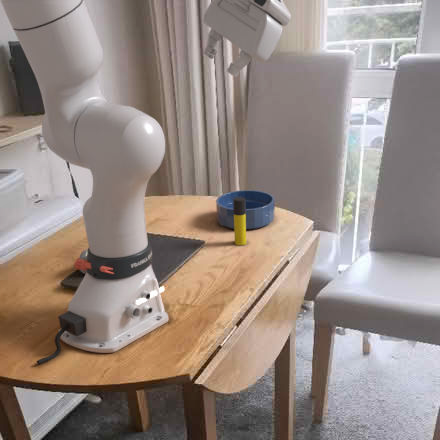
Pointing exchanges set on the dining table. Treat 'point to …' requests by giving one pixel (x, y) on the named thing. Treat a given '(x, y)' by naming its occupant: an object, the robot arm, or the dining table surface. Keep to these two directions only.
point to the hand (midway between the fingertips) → (219, 65)
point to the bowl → (247, 208)
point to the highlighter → (239, 220)
